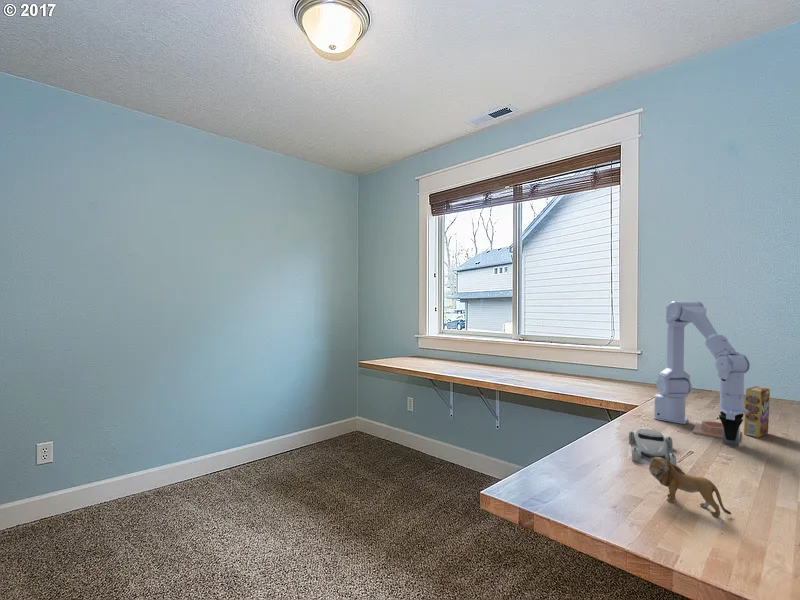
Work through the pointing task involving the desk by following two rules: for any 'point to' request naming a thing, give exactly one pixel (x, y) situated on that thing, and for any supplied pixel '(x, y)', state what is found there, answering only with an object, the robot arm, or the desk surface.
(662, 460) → the lion figurine
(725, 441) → the tube
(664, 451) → the car model
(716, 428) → the tube holder
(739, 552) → the desk surface
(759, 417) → the candy box
